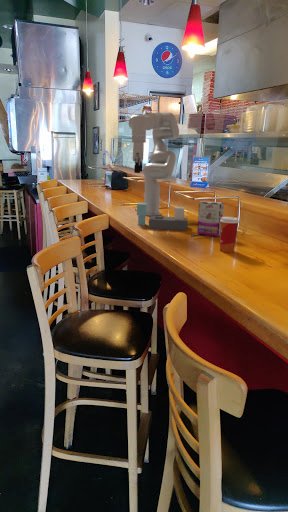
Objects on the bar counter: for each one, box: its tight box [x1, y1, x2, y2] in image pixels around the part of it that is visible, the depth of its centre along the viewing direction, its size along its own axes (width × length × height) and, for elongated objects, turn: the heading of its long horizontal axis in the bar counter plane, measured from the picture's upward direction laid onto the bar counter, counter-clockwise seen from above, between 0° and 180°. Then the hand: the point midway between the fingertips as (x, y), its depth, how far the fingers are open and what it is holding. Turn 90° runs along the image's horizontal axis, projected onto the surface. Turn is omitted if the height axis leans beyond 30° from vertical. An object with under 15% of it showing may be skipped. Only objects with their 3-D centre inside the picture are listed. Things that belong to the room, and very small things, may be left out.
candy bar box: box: [197, 200, 224, 238], centre depth 181 cm, size 11×5×16 cm, turn 62°
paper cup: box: [219, 216, 240, 254], centre depth 153 cm, size 8×8×14 cm
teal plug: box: [136, 202, 147, 226], centre depth 202 cm, size 5×5×12 cm
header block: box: [148, 206, 189, 231], centre depth 195 cm, size 10×20×11 cm, turn 83°
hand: (138, 172), depth 204 cm, fingers open, 9 cm apart
